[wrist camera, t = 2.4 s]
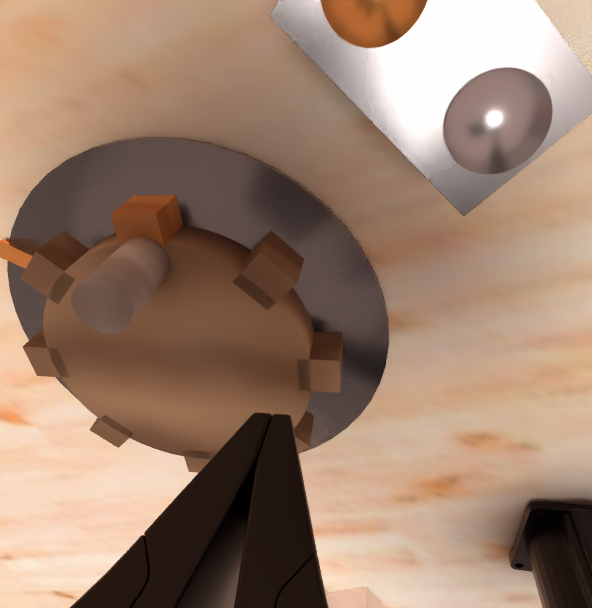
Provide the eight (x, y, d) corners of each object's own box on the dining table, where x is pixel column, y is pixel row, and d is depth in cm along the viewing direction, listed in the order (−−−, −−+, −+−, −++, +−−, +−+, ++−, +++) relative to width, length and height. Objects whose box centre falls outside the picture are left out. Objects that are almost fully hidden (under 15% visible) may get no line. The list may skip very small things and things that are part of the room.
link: (542, 73, 14) (612, 100, 10) (441, 164, 16) (464, 219, 12) (393, -114, 13) (401, -179, 8) (299, 14, 14) (267, 15, 10)
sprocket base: (381, 471, 26) (381, 477, 26) (83, 446, 29) (80, 452, 29) (400, 127, 16) (400, 129, 15) (-63, 145, 19) (-71, 147, 18)
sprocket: (343, 453, 25) (337, 550, 20) (98, 434, 27) (43, 518, 23) (340, 192, 17) (327, 258, 12) (-7, 197, 19) (-125, 254, 15)
